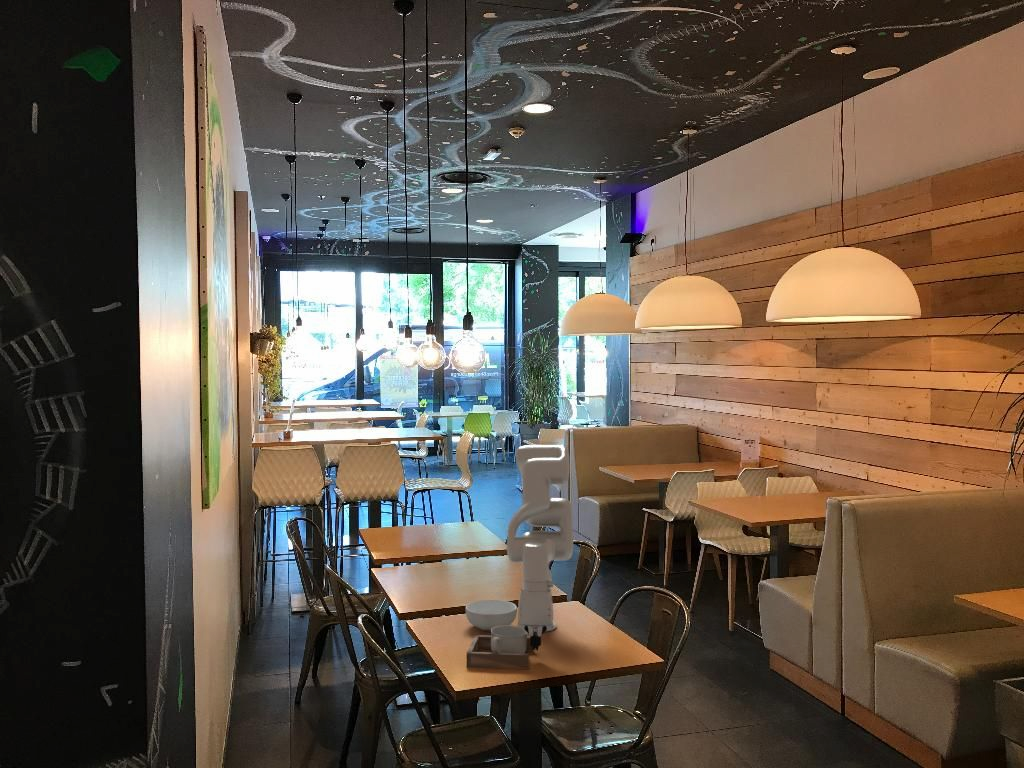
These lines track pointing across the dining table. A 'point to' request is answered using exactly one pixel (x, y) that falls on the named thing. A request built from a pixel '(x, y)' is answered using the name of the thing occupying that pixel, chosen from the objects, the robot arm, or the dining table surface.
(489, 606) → the cereal bowl
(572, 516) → the robot arm
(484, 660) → the walnut bay
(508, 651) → the teacup
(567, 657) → the dining table surface
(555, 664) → the dining table surface
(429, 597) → the dining table surface
